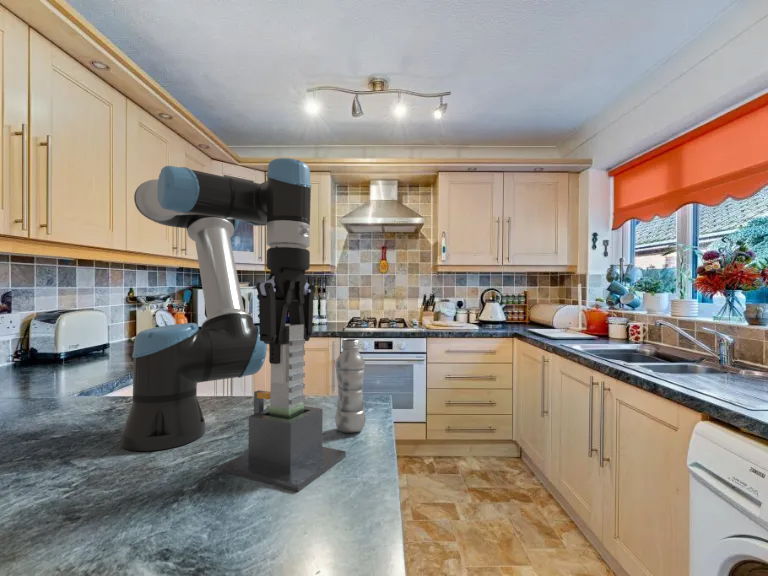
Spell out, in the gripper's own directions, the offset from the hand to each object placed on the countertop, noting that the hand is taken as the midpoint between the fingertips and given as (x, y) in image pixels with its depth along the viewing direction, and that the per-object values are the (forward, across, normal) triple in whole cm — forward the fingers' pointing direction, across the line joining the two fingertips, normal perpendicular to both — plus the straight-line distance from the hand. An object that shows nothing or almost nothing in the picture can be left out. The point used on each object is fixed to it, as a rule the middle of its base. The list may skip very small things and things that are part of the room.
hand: (287, 379), depth 68 cm
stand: (+15, 0, 0) cm, 15 cm away
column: (+10, 0, 0) cm, 10 cm away
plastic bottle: (+15, +19, -2) cm, 24 cm away
